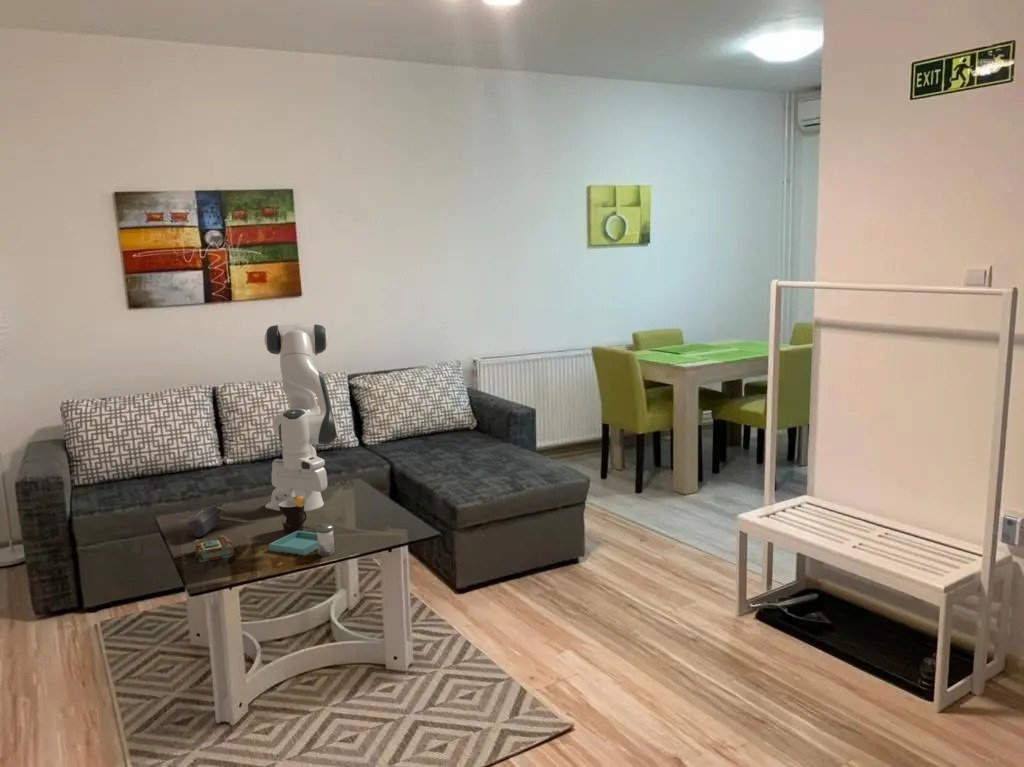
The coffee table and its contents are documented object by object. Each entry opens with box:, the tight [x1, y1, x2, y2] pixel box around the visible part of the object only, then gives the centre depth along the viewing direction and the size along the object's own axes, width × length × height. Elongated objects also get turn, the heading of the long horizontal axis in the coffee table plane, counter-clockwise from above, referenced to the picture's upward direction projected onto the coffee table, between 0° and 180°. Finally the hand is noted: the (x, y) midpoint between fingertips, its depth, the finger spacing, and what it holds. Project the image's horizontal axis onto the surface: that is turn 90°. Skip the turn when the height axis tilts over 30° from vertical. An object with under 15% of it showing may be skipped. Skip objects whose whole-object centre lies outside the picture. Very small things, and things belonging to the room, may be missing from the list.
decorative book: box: [194, 534, 235, 563], centre depth 266 cm, size 13×18×5 cm
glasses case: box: [186, 505, 229, 538], centre depth 286 cm, size 18×10×8 cm, turn 179°
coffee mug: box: [279, 500, 307, 534], centre depth 283 cm, size 12×9×10 cm
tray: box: [268, 530, 318, 557], centre depth 268 cm, size 14×14×2 cm
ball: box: [295, 496, 305, 507], centre depth 267 cm, size 4×4×4 cm
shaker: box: [315, 523, 335, 557], centre depth 261 cm, size 5×5×9 cm
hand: (300, 502), depth 267 cm, fingers closed on ball, 3 cm apart
